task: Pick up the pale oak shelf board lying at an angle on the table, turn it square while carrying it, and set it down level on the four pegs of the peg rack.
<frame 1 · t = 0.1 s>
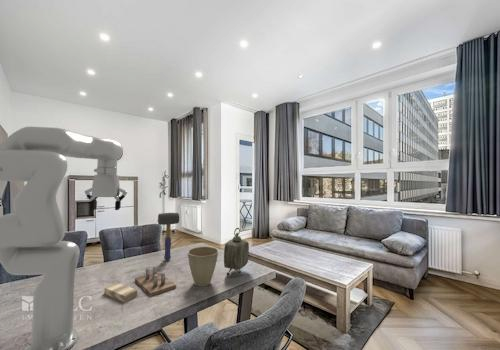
hand: (105, 209, 102), 37 cm above the table, tool pointing down, fingers open, 9 cm apart
peg stand: (154, 284, 111), on the table
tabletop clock: (236, 273, 127), on the table
oak board: (120, 295, 100), on the table
plant pot: (202, 283, 113), on the table
rubber mallet: (167, 260, 144), on the table
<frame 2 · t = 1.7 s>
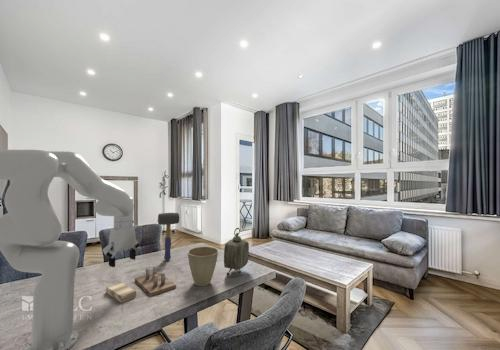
hand: (122, 262, 101), 14 cm above the table, tool pointing down, fingers open, 9 cm apart
nothing on the table moved.
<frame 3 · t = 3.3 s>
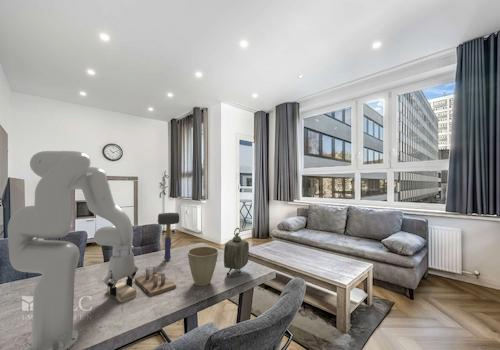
hand: (121, 291, 101), 1 cm above the table, tool pointing down, fingers closed on oak board, 6 cm apart
oak board: (121, 294, 101), on the table, touching gripper
everything else where it was.
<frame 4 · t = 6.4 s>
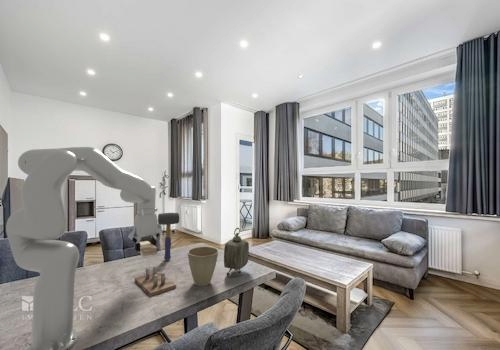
hand: (145, 249, 108), 18 cm above the table, tool pointing down, fingers closed on oak board, 6 cm apart
oak board: (145, 251, 108), point 17 cm above the table, touching gripper
everything else where it was.
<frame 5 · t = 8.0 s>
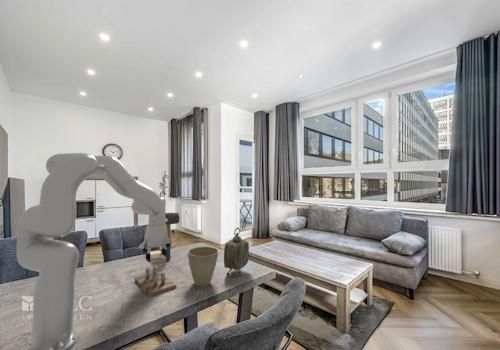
hand: (155, 258, 111), 12 cm above the table, tool pointing down, fingers closed on oak board, 6 cm apart
oak board: (155, 261, 111), point 11 cm above the table, touching gripper
everything else where it was.
when the fingers open (9 cm above the table, at t = 9.5 s): oak board drops 1 cm, resting on peg stand.
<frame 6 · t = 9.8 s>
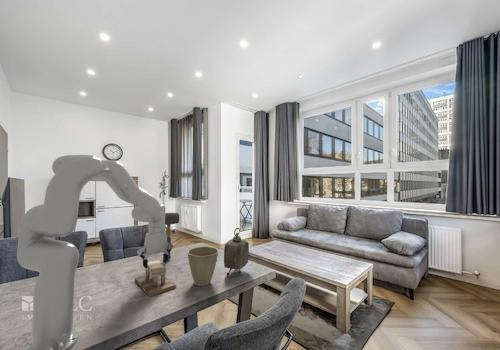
hand: (155, 264, 111), 9 cm above the table, tool pointing down, fingers open, 9 cm apart
oak board: (155, 270, 111), point 6 cm above the table, touching peg stand
everything else where it was.
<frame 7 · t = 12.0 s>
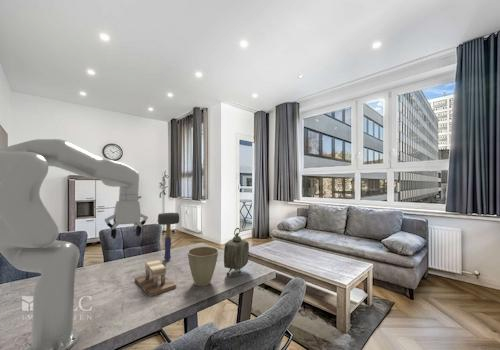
hand: (126, 236, 101), 26 cm above the table, tool pointing down, fingers open, 9 cm apart
nothing on the table moved.
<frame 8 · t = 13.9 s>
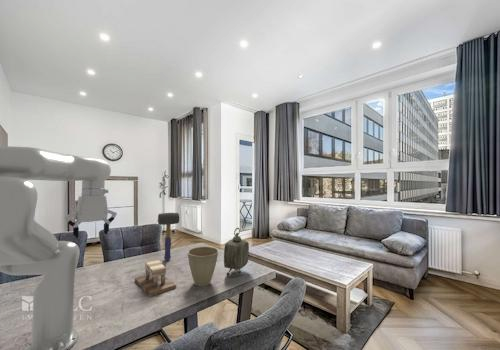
hand: (91, 235, 91), 28 cm above the table, tool pointing down, fingers open, 9 cm apart
nothing on the table moved.
at the end: oak board 0.1 cm off-centre on the peg stand, point 6.5 cm above the peg stand's base; oak board tilted 0°; oak board touching peg stand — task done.
